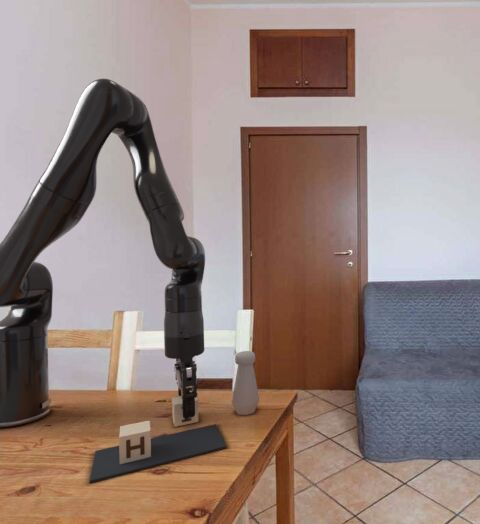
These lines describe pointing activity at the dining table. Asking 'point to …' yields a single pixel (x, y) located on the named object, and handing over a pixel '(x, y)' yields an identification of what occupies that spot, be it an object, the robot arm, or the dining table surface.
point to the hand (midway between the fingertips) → (186, 409)
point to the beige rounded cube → (134, 442)
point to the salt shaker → (245, 384)
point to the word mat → (158, 452)
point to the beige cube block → (178, 412)
